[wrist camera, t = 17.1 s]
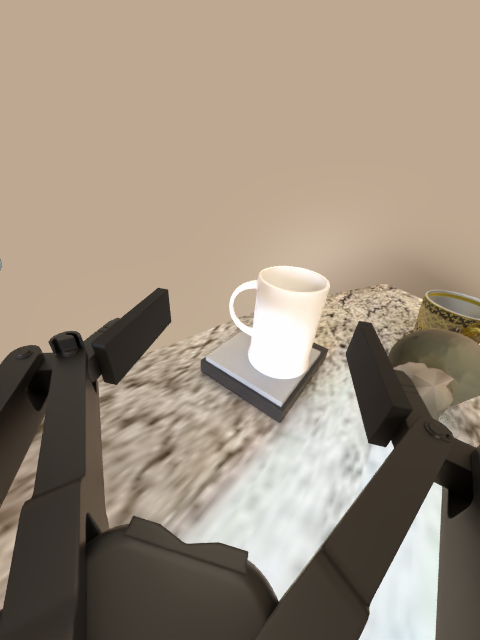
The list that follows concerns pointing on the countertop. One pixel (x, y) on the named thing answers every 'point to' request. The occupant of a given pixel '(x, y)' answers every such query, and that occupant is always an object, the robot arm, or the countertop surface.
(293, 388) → the scale
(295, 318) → the mug
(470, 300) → the ceramic cup
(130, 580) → the robot arm
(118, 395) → the countertop surface
